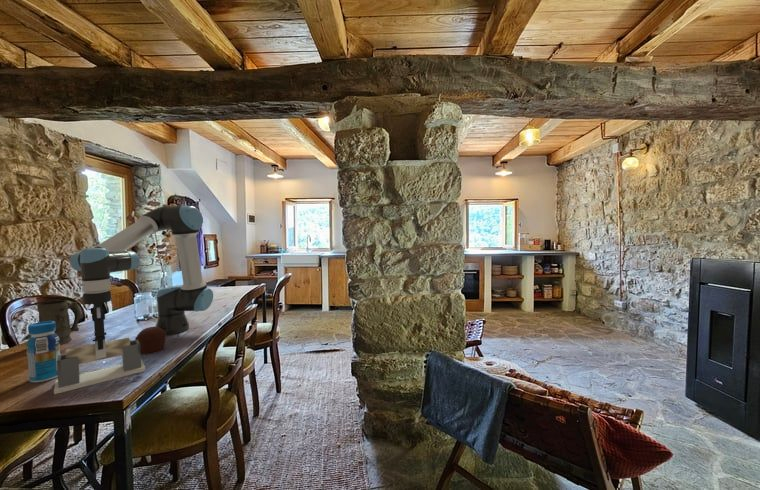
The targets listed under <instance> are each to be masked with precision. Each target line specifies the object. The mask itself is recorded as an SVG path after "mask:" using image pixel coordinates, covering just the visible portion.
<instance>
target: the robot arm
mask: <svg viewBox="0 0 760 490" xmlns="http://www.w3.org/2000/svg"><path fill="white" fill-rule="evenodd" d="M203 223H204V219H203V215H202V212H201V210H199V209H198V208H197V207H195V206H193V205H175V206H174V205H170V206H169V205H168V206H167V205H166V206H159V207H157V208H155V209H152V210H150V211H148V212H145V213H144V214H142V215H141V216H139V217H138V218H137V220H136V221H135V222H134V223H131V225H128V226H127V227H125V228H124V229H122V230H121V231H119V232H117V233H116V234H114V235H112V236H111V237H109V238H107V239H106V240H104V241H102V242H100V243H99V244H97V245H96V246H94V247H91V248H90V247H89V248H82V250H80V252H78V251H77V252H75V253H73V254H72V255H71V256H70V259H69V265H70V267H71V268H72V269H73V270H75V271H77V272H80V273H81V283H79V286H80V287H82V292H83V294H82V304H83V305H93V306H92V307H90V314H91V320H92V322H93V326H94V327H93V328H94V330H93V335H94V339H92V343H93V342H94V344H95V350H96V359H100V358H104V357H106V345H105V342H106V335H107V334H108V333H107V332H105V320H106V310H107V309H106V306H105V305H103V303H109V302H111V301H112V291H111V289H112V288H111V287H112V285H111V277H110V276H111V274H112V273H116V272H118V273H119V272H125V271H126V272H128V271H130V270H135V269H136V268H138V266H139V265H140V256H139V254H137V252H135V251H133V250H129V249H130V248H132V247H133V246H135V245H136V244H137V243H139V242H140V241H142V240H143V239H145V238H146V237H148V236H149V235H155V234H157V233H159V232H160V231H168V230H169V231H171V236H173V237H175V239H176V245H177V251H178V256H179V257H178V258H179V266H180V270H181V271H180V272H181V277H182V283H183V284H179V285H172V286H167V287H163V288H160V289H158V290H157V291H156V305H157V306H156V307H157V321H156V324H155V326H154V327H159V328H161V329H163V330H164V331H165V332H166V333H167V334H166V336H169V335H175V334H179V333H183V332H185V331H187V330H189V329H190V323H189V320H188V318H187V316H186V313H185V312H195V313H196V312H197V313H198V312H205V311H207V310H208V309H209V308H210V307H211V305H212V303H213V300H214V292H213V290H212V288H209V287H208V286H207V283H206V281H203V275H202V274H203V273H202V268H201V267H202V266H201V260H200V254H199V253H200V252H199V245H198V240H197V236H198V234H199V233H200V229H201V228H202V226H203Z"/></svg>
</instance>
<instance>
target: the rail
mask: <svg viewBox="0 0 760 490" xmlns="http://www.w3.org/2000/svg"><path fill="white" fill-rule="evenodd" d="M130 341H131V340H130V337H124V338H119V339H114V340H109V341H107V340H106V341H105V345H106V357H104V358H100V359H96V350H95V343H92V344H86V345H80V346H75V347H70V348H66V349H65V354H66V359H68V358H73V357H78V364H79V365H82V364H87V363H91V362H95V361H101V360H106V359H110V358H115V357H119V356H121V357H122V355H123V347H126V346H130Z"/></svg>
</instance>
